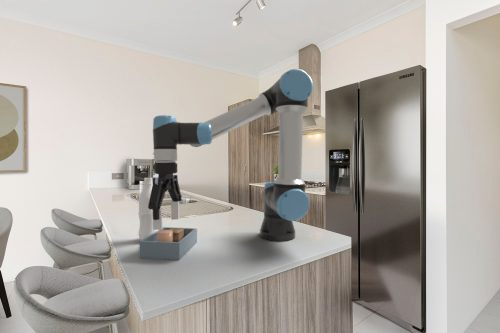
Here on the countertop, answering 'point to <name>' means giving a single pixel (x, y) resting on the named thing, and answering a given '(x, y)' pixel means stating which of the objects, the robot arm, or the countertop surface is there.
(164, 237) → the capsule
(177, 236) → the cube
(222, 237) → the countertop surface
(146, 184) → the water bottle
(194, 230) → the tote
